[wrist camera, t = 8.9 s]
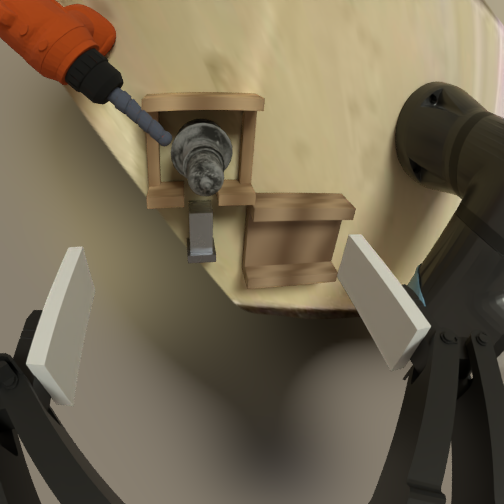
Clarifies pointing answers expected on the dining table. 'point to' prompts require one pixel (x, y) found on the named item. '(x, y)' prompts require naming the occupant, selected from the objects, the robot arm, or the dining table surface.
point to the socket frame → (249, 103)
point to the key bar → (201, 233)
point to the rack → (292, 238)
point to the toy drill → (72, 53)
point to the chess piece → (202, 155)
